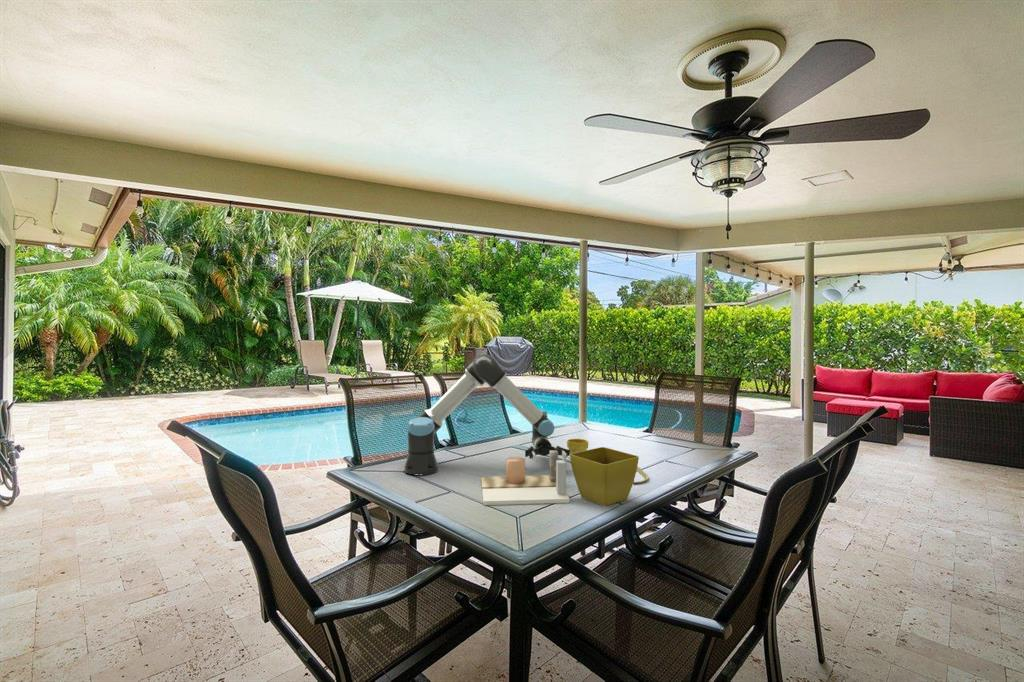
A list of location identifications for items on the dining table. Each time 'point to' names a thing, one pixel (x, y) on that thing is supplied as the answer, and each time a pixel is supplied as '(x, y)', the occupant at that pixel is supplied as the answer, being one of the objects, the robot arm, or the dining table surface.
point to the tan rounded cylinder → (515, 470)
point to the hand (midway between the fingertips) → (550, 457)
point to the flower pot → (604, 474)
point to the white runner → (530, 492)
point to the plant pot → (577, 445)
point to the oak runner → (526, 478)
